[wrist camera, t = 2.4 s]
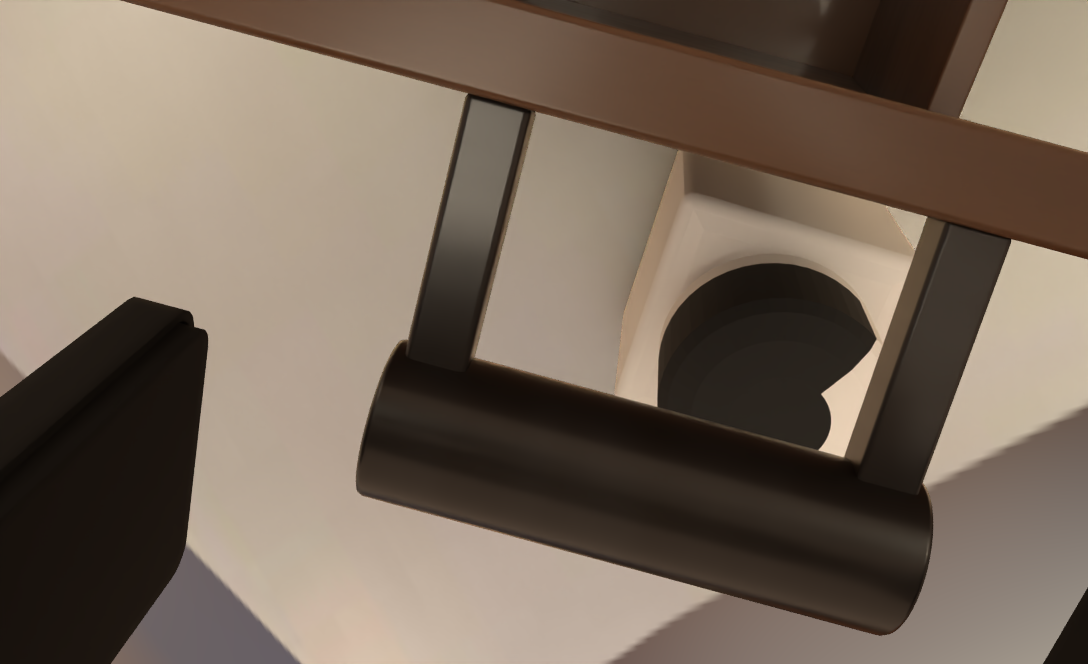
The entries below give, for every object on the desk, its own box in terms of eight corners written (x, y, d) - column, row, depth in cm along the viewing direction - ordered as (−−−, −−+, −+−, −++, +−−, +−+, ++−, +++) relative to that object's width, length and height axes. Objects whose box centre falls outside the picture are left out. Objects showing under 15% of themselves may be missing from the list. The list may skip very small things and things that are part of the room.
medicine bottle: (620, 318, 37) (599, 497, 27) (682, 134, 34) (687, 250, 24) (805, 373, 37) (860, 574, 27) (883, 194, 34) (981, 338, 24)
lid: (1, -139, 8) (-78, 482, 9) (1611, 292, 8) (1322, 862, 9) (407, 28, 24) (359, 247, 25) (943, 171, 24) (869, 384, 25)
